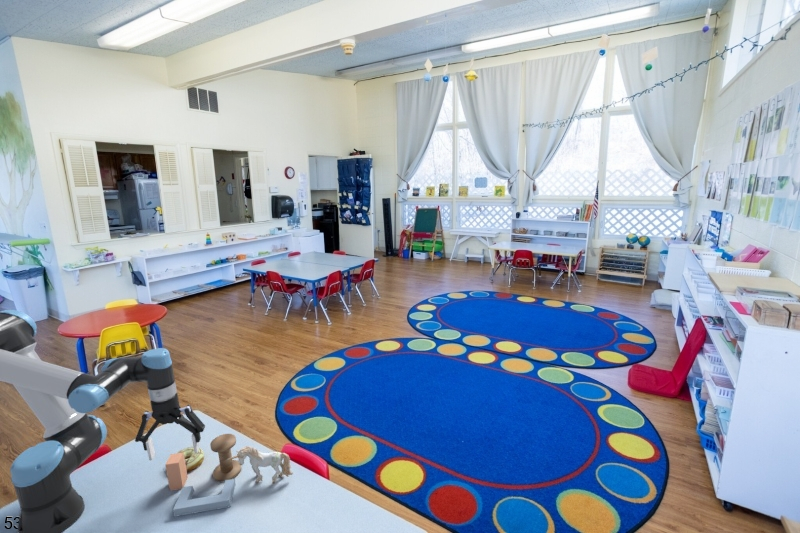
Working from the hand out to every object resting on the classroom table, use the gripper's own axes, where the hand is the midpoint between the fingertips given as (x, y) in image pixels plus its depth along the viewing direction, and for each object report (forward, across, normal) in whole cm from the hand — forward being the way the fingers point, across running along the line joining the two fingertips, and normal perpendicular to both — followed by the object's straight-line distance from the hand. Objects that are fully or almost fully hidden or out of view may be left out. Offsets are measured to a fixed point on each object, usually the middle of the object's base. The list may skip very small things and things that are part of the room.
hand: (174, 453), depth 130 cm
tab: (+12, 0, 0) cm, 12 cm away
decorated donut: (+12, -1, +10) cm, 16 cm away
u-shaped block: (+12, +10, -9) cm, 18 cm away
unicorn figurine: (+12, +27, -7) cm, 31 cm away
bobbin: (+12, +14, +2) cm, 19 cm away
